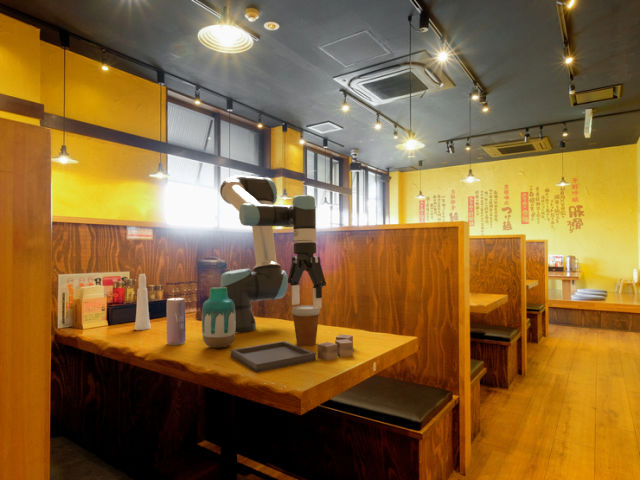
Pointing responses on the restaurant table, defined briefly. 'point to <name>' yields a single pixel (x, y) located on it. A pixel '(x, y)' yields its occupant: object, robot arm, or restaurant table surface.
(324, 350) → the cube
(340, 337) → the cube
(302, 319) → the disposable coffee cup
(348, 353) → the cube
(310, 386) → the restaurant table surface
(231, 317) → the vase
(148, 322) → the cosmetic bottle
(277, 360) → the tray
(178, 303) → the beverage can
